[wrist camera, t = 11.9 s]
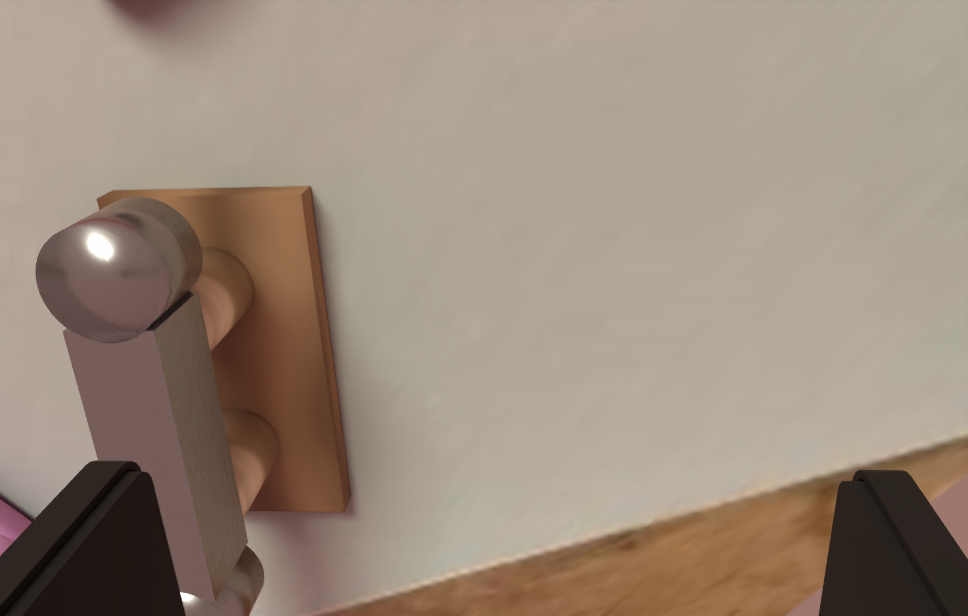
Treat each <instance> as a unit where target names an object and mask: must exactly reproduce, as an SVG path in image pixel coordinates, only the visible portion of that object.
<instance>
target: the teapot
mask: <svg viewBox="0 0 968 616" xmlns="http://www.w3.org/2000/svg"><path fill="white" fill-rule="evenodd" d="M31 523H32V522H31V521H30V520H28V519H27V518H26V517H24V516H23V515H22V514H20V513H19V512H17V511H16V510H15V509H13V508H12V507H11V506H9V505H8V504H6V503H5V502H4V501H2V500H1V499H0V556H1V555H2V553H3V552H4V551H5V550H6V549H7V548H8V547H9V546H10V545H11V544H12V543H13V542H14V541H15V540H16V539H17V538H18V537H19V535H20V534H21V533H22V532H23V531H24V530H25V529H26V528H27V527H28V526H29V525H30V524H31Z"/></svg>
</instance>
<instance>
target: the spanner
mask: <svg viewBox="0 0 968 616" xmlns="http://www.w3.org/2000/svg"><path fill="white" fill-rule="evenodd" d="M202 265H203V255H202V248H201V245H200V242H199V239H198V236H197V235H196V233H195V231H194V229H193V228H192V226H191V225H190V223H189V222H188V221H187V220H186V219H185V218H184V217H183V216H182V215H181V214H180V213H179V212H178V211H176V210H175V209H174V208H172V207H171V206H169V205H167V204H166V203H163V202H161V201H159V200H156V199H152V198H148V197H137V196H136V197H128V198H123V199H120V200H118V201H116V202H114V203H112V204H110V205H108V206H106V207H105V208H103V209H101V210H99V211H97V212H95V213H93V214H91V215H90V216H88V217H86V218H84V219H82V220H80V221H78V222H77V223H75V224H73V225H71V226H69V227H67V228H65V229H64V230H62V231H60V232H58V233H56V234H55V235H53V236H52V237H51V238H50V239H49V240H48V241H47V242H46V243H45V244H44V245H43V247H42V249H41V250H40V253H39V255H38V258H37V263H36V281H37V286H38V289H39V292H40V295H41V297H42V299H43V301H44V303H45V305H46V306H47V308H48V309H49V311H50V312H51V313H52V314H53V316H54V317H55V318H56V319H57V320H58V321H59V322H60V323H61V324H63V325H64V326H65V327H66V328H67V329H66V330H64V331H63V334H64V338H65V341H66V345H67V349H68V352H69V356H70V359H71V363H72V367H73V370H74V374H75V378H76V381H77V385H78V388H79V392H80V396H81V399H82V403H83V407H84V410H85V414H86V418H87V421H88V425H89V428H90V432H91V436H92V439H93V443H94V447H95V450H96V454H97V458H98V461H133V462H136V463H137V464H138V465H139V467H140V468H141V471H142V472H147V473H149V474H150V476H151V478H152V480H153V484H154V488H155V492H156V496H157V500H158V504H159V508H160V512H161V516H162V520H163V524H164V528H165V532H166V536H167V541H168V545H169V549H170V553H171V557H172V561H173V565H174V569H175V573H176V577H177V581H178V585H179V589H180V593H181V597H182V602H183V606H184V610H185V614H186V616H249V614H250V612H251V610H252V608H253V606H254V604H255V602H256V600H257V598H258V596H259V593H260V591H261V589H262V587H263V584H264V570H263V567H262V564H261V562H260V560H259V559H258V557H257V556H256V554H255V553H254V552H253V551H252V550H251V549H250V548H249V547H248V546H246V544H247V543H248V539H247V534H246V529H245V524H244V519H243V514H242V509H241V504H240V499H239V494H238V489H237V484H236V479H235V474H234V468H233V463H232V458H231V453H230V448H229V443H228V438H227V433H226V428H225V423H224V418H223V413H222V408H221V403H220V398H219V393H218V388H217V383H216V378H215V373H214V368H213V363H212V358H211V353H210V348H209V343H208V338H207V332H206V327H205V322H204V317H203V312H202V307H201V302H200V297H199V292H198V291H190V290H191V289H192V288H193V287H194V286H195V284H196V283H197V281H198V279H199V277H200V274H201V271H202Z"/></svg>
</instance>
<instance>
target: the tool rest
mask: <svg viewBox="0 0 968 616" xmlns="http://www.w3.org/2000/svg"><path fill="white" fill-rule="evenodd" d="M136 196H137V197H148V198H152V199H156V200H159V201H161V202H163V203H166V204H167V205H169V206H171V207H172V208H174V209H175V210H176V211H178V212H179V213H180V214H181V215H182V216H183V217H184V218H185V219H186V220H187V221H188V222H189V223H190V225H191V226H192V228H193V229H194V231H195V233H196V235H197V236H198V239H199V242H200V245H201V248H202V255H203V265H202V271H201V274H200V277H199V279H198V281H197V283H196V284H195V286H194V287H193V288H192V289H191V290H190V291H198V292H199V297H200V302H201V307H202V312H203V317H204V322H205V327H206V332H207V338H208V343H209V348H210V353H211V358H212V363H213V368H214V373H215V378H216V383H217V388H218V393H219V398H220V403H221V408H222V413H223V418H224V423H225V428H226V433H227V438H228V443H229V448H230V453H231V458H232V463H233V468H234V474H235V479H236V484H237V489H238V494H239V499H240V504H241V509H242V514H243V518H244V517H245V515H246V513H247V511H300V512H345V510H346V507H347V505H348V502H349V500H350V497H351V492H350V484H349V477H348V469H347V461H346V454H345V446H344V439H343V431H342V424H341V416H340V408H339V401H338V393H337V386H336V378H335V370H334V363H333V355H332V348H331V340H330V332H329V325H328V317H327V310H326V302H325V295H324V287H323V279H322V272H321V264H320V257H319V249H318V241H317V234H316V226H315V219H314V211H313V204H312V196H311V188H310V186H295V187H250V188H205V189H160V190H115V191H111V192H109V193H107V194H105V195H103V196H101V197H99V198H97V202H98V206H99V210H101V209H103V208H105V207H106V206H108V205H110V204H112V203H114V202H116V201H118V200H120V199H123V198H128V197H136Z"/></svg>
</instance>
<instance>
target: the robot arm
mask: <svg viewBox="0 0 968 616" xmlns="http://www.w3.org/2000/svg"><path fill="white" fill-rule="evenodd" d="M0 616H186V614H185V610H184V606H183V602H182V597H181V593H180V589H179V585H178V581H177V577H176V573H175V569H174V565H173V561H172V557H171V553H170V549H169V545H168V541H167V536H166V532H165V528H164V524H163V520H162V516H161V512H160V508H159V504H158V500H157V496H156V492H155V488H154V484H153V480H152V478H151V476H150V474H149V473H147V472H142V471H141V468H140V467H139V465H138V464H137V463H136V462H133V461H92V462H90V463H88V464H87V465H86V466H85V467H84V468H83V469H82V470H81V471H80V472H79V473H78V474H77V475H76V476H75V477H74V478H73V479H72V480H71V481H70V483H69V484H68V485H67V486H66V487H65V488H64V489H63V490H62V491H61V492H60V493H59V494H58V495H57V496H56V497H55V498H54V499H53V501H52V502H51V503H50V504H49V505H48V506H47V507H46V508H45V509H44V510H43V511H42V512H41V513H40V514H39V515H38V516H37V517H36V519H35V520H34V521H33V522H32V523H31V524H30V525H29V526H28V527H27V528H26V529H25V530H24V531H23V532H22V533H21V534H20V535H19V537H18V538H17V539H16V540H15V541H14V542H13V543H12V544H11V545H10V546H9V547H8V548H7V549H6V550H5V551H4V552H3V553H2V555H1V556H0ZM819 616H968V559H967V558H966V556H965V555H964V553H963V552H962V550H961V549H960V547H959V546H958V544H957V543H956V541H955V540H954V538H953V537H952V536H951V534H950V533H949V531H948V530H947V528H946V527H945V525H944V524H943V522H942V521H941V520H940V518H939V516H938V515H937V514H936V512H935V511H934V509H933V508H932V506H931V505H930V503H929V502H928V500H927V499H926V497H925V496H924V495H923V493H922V492H921V490H920V489H919V487H918V486H917V484H916V483H915V481H914V480H913V478H912V477H911V476H910V475H909V474H908V473H907V472H906V471H902V470H859V471H857V472H856V473H855V475H854V476H853V480H852V481H843V482H841V483H840V485H839V488H838V493H837V500H836V506H835V513H834V519H833V526H832V532H831V539H830V545H829V552H828V558H827V565H826V572H825V578H824V585H823V591H822V598H821V604H820V611H819Z"/></svg>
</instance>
